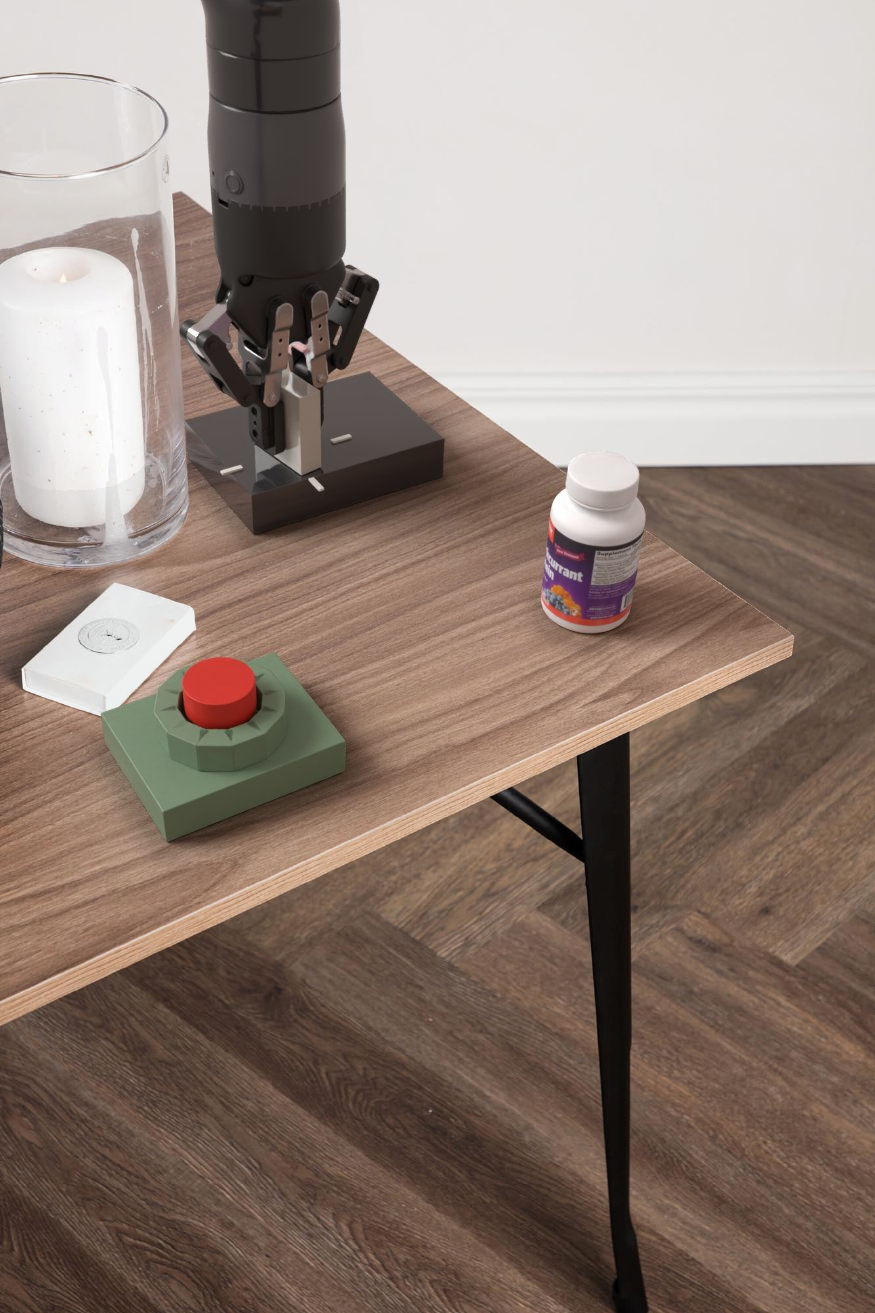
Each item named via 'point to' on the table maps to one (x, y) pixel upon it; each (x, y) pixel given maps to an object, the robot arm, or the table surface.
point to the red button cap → (219, 693)
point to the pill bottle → (594, 544)
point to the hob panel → (352, 456)
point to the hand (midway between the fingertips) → (287, 440)
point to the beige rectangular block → (300, 424)
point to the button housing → (222, 751)
